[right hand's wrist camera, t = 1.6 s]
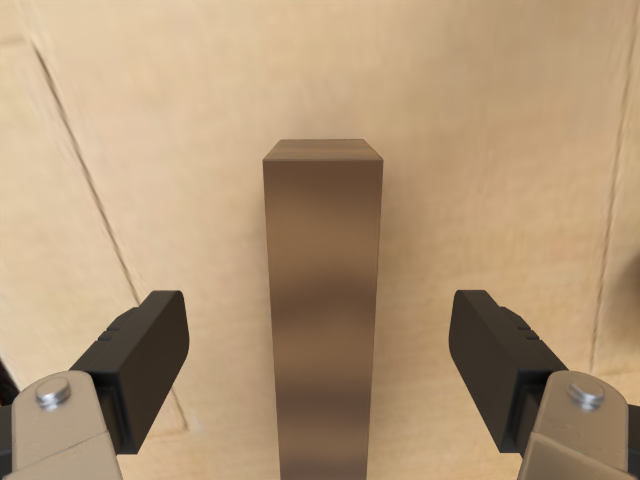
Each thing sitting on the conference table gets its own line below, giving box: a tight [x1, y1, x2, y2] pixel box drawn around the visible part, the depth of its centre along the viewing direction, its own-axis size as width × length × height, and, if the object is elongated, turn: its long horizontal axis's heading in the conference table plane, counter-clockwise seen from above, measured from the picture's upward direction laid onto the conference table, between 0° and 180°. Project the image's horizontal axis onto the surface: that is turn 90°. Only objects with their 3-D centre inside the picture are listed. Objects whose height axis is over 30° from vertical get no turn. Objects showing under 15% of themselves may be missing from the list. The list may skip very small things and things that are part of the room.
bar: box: [263, 139, 383, 480], centre depth 27 cm, size 28×6×8 cm, turn 0°
